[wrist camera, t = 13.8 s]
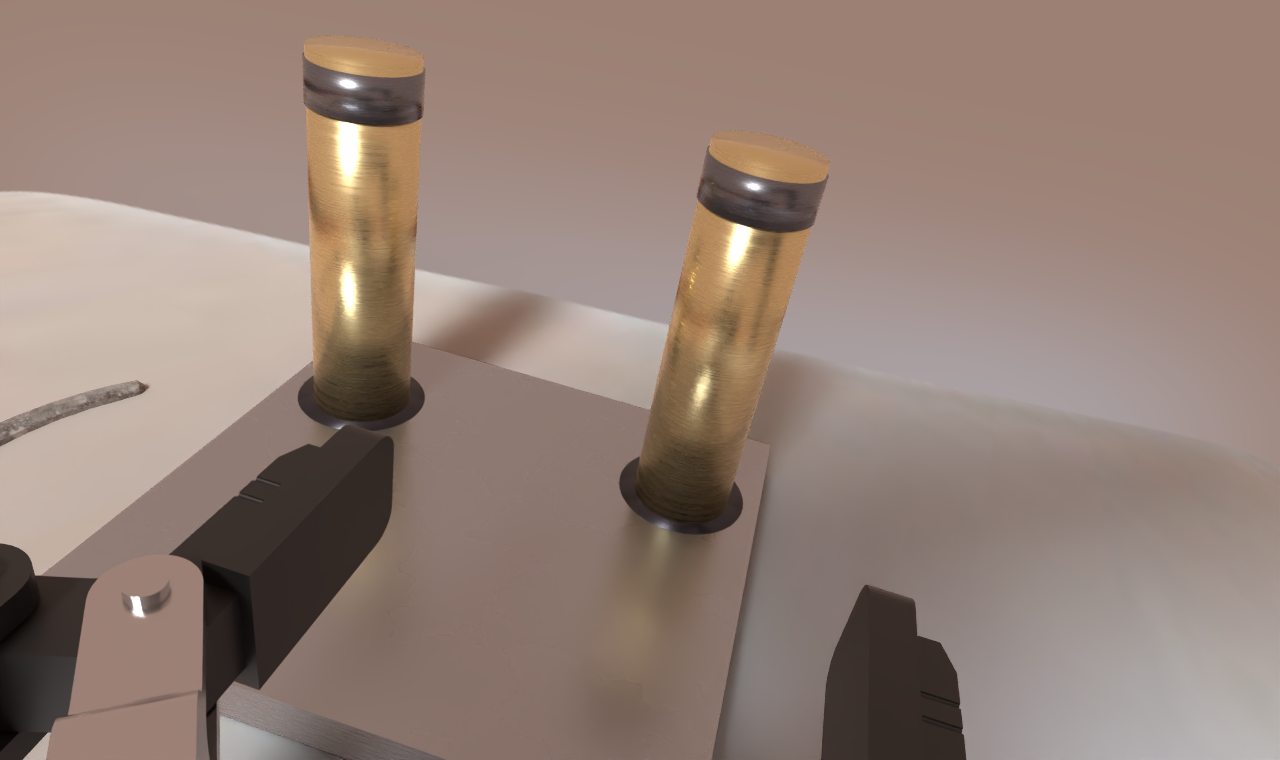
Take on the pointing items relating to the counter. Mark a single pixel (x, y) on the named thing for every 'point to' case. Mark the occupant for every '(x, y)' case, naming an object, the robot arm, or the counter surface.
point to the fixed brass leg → (362, 220)
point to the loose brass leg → (726, 318)
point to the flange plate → (485, 579)
